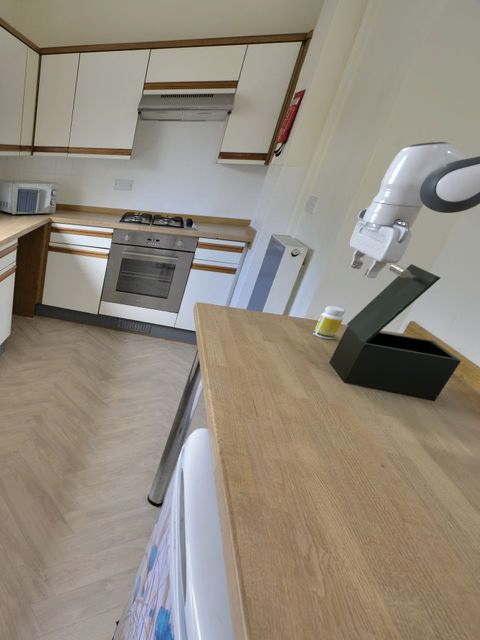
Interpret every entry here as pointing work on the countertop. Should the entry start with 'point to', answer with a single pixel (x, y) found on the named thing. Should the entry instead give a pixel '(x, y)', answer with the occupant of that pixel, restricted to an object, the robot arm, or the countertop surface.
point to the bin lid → (392, 300)
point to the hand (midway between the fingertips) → (361, 272)
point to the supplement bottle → (329, 322)
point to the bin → (394, 364)
